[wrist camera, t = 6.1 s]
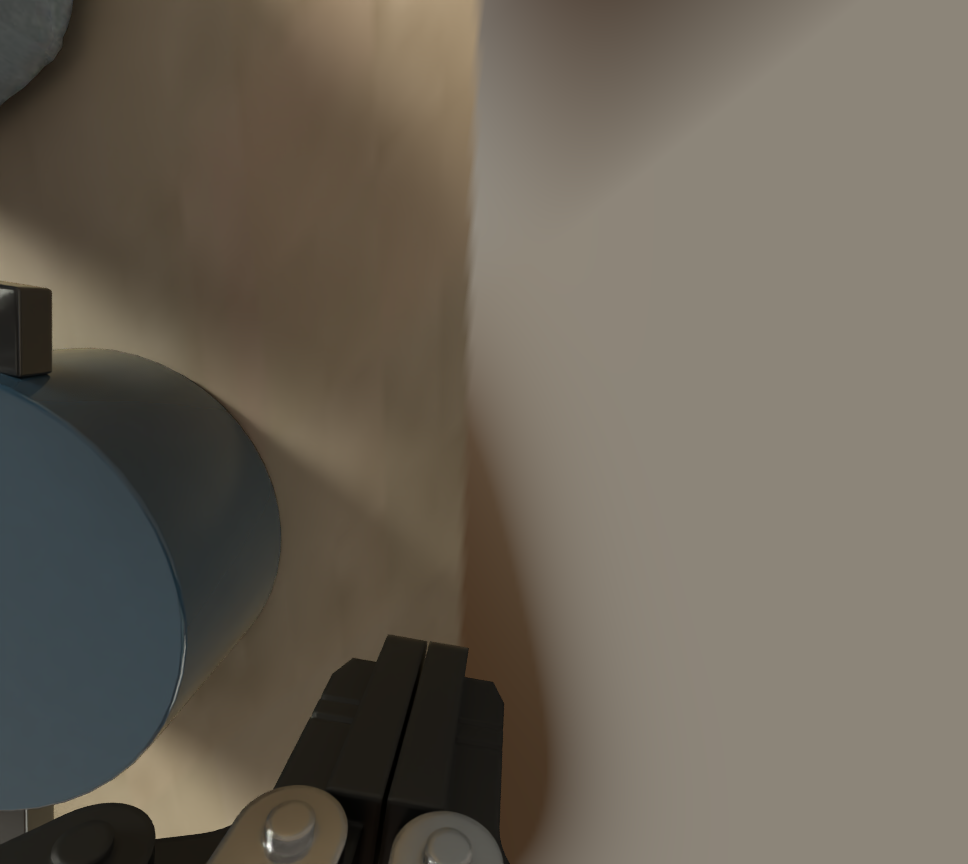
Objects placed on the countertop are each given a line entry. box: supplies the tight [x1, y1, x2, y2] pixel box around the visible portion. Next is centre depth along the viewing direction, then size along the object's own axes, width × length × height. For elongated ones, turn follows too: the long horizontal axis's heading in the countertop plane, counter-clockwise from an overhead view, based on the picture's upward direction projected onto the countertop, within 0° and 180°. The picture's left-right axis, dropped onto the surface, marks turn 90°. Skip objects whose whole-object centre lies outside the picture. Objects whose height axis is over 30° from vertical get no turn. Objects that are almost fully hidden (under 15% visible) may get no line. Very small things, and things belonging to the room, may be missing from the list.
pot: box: [0, 281, 281, 844], centre depth 13 cm, size 9×12×4 cm
